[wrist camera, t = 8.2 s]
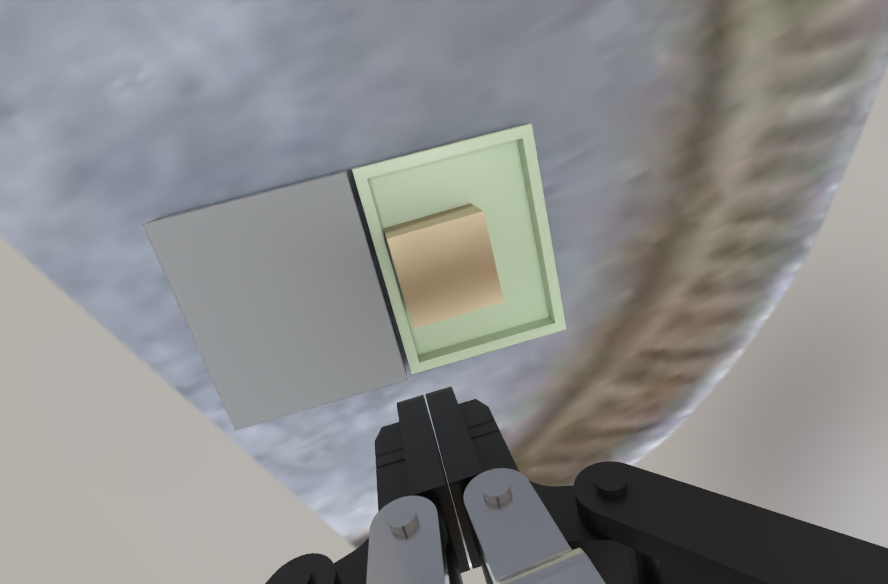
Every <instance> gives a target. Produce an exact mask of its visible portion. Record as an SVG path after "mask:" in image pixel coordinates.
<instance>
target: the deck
mask: <svg viewBox="0 0 888 584" xmlns="http://www.w3.org/2000/svg"><path fill="white" fill-rule="evenodd" d="M143 226H144V228H145V231H146V233H147V235H148V237H149V240H150V242H151V244H152V246H153V249H154V251H155V253H156V255H157V257H158V260H159V262H160V264H161V266H162V269H163V271H164V273H165V275H166V278H167V280H168V282H169V284H170V286H171V289H172V291H173V293H174V295H175V298H176V300H177V302H178V304H179V307H180V309H181V311H182V313H183V316H184V318H185V320H186V322H187V324H188V327H189V329H190V331H191V333H192V336H193V338H194V340H195V342H196V345H197V347H198V349H199V351H200V353H201V356H202V358H203V360H204V362H205V365H206V367H207V369H208V371H209V374H210V376H211V378H212V380H213V382H214V385H215V387H216V389H217V391H218V394H219V396H220V398H221V400H222V403H223V405H224V407H225V409H226V412H227V414H228V416H229V418H230V420H231V423H232V425H233V427H234V429H235V430H239V429H242V428H246V427H249V426H252V425H256V424H259V423H263V422H266V421H269V420H273V419H276V418H280V417H283V416H286V415H290V414H293V413H297V412H300V411H303V410H307V409H310V408H314V407H317V406H320V405H324V404H327V403H331V402H334V401H337V400H341V399H344V398H348V397H351V396H354V395H358V394H361V393H365V392H368V391H372V390H375V389H378V388H382V387H385V386H389V385H392V384H395V383H399V382H402V381H406V380H408V379H407V374H406V368H405V364H404V360H403V357H402V354H401V350H400V347H399V344H398V340H397V337H396V333H395V330H394V327H393V323H392V320H391V317H390V313H389V310H388V306H387V303H386V300H385V296H384V293H383V290H382V286H381V283H380V279H379V276H378V273H377V269H376V266H375V263H374V259H373V256H372V252H371V249H370V246H369V242H368V239H367V236H366V232H365V229H364V225H363V222H362V219H361V215H360V212H359V209H358V205H357V202H356V198H355V195H354V192H353V188H352V185H351V182H350V178H349V175H348V171H347V170H343V171H339V172H335V173H331V174H327V175H324V176H320V177H316V178H312V179H308V180H304V181H300V182H296V183H292V184H289V185H285V186H281V187H277V188H273V189H269V190H265V191H261V192H257V193H254V194H250V195H246V196H242V197H238V198H234V199H230V200H226V201H222V202H219V203H215V204H211V205H207V206H203V207H199V208H195V209H191V210H187V211H184V212H180V213H176V214H172V215H168V216H164V217H160V218H157V219H155V220H152V221H150V222H147V223H145V224H143Z"/></svg>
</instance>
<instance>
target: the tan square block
mask: <svg viewBox="0 0 888 584" xmlns="http://www.w3.org/2000/svg"><path fill="white" fill-rule="evenodd" d="M384 231H385V234H386V238H387V242H388V245H389V248H390V252H391V255H392V258H393V262H394V265H395V268H396V272H397V275H398V278H399V282H400V285H401V288H402V291H403V295H404V298H405V301H406V305H407V308H408V311H409V315H410V318H411V321H412V325H413V328H414V329H416V328H419V327H423V326H426V325H429V324H432V323H436V322H439V321H442V320H446V319H449V318H452V317H456V316H459V315H462V314H465V313H469V312H472V311H475V310H479V309H482V308H485V307H489V306H492V305H495V304H498V303H502V302H504V299H503V295H502V290H501V286H500V282H499V277H498V273H497V269H496V264H495V260H494V256H493V251H492V247H491V242H490V238H489V234H488V229H487V225H486V221H485V216H484V212H483V211H482V210H481V209H479V208H477V207H476V206H474V205H472V204H471V203H470V204H467V205H463V206H460V207H456V208H453V209H449V210H446V211H442V212H439V213H435V214H432V215H428V216H425V217H421V218H418V219H415V220H411V221H408V222H404V223H401V224H397V225H394V226H390V227H387V228H384Z"/></svg>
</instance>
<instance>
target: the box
mask: <svg viewBox="0 0 888 584" xmlns="http://www.w3.org/2000/svg"><path fill="white" fill-rule="evenodd" d="M352 172H353V175H354V179H355V182H356V185H357V189H358V192H359V196H360V199H361V202H362V206H363V209H364V213H365V216H366V220H367V223H368V226H369V230H370V233H371V237H372V240H373V243H374V247H375V250H376V254H377V257H378V260H379V264H380V267H381V271H382V274H383V278H384V281H385V284H386V288H387V291H388V295H389V298H390V301H391V305H392V308H393V312H394V315H395V318H396V322H397V325H398V329H399V332H400V336H401V339H402V342H403V346H404V349H405V353H406V356H407V359H408V363H409V366H410V370H411V373H412V374H415V373H419V372H422V371H425V370H429V369H432V368H436V367H439V366H442V365H446V364H449V363H453V362H456V361H459V360H463V359H466V358H470V357H473V356H477V355H480V354H483V353H487V352H490V351H494V350H497V349H500V348H504V347H507V346H511V345H514V344H517V343H521V342H524V341H528V340H531V339H535V338H538V337H541V336H545V335H548V334H552V333H555V332H558V331H562V330H565V329H566V324H565V318H564V313H563V307H562V301H561V295H560V289H559V283H558V277H557V271H556V265H555V259H554V253H553V247H552V241H551V236H550V230H549V224H548V218H547V212H546V206H545V200H544V194H543V188H542V182H541V176H540V170H539V164H538V159H537V153H536V147H535V141H534V135H533V129H532V124H522V125H518V126H514V127H510V128H506V129H502V130H499V131H495V132H491V133H487V134H483V135H479V136H475V137H471V138H467V139H464V140H460V141H456V142H452V143H448V144H444V145H440V146H436V147H432V148H429V149H425V150H421V151H417V152H413V153H409V154H405V155H401V156H397V157H394V158H390V159H386V160H382V161H378V162H374V163H370V164H366V165H362V166H359V167H355V168H352ZM470 203H471V204H472V205H474V206H476V207H477V208H479V209H481V210H482V211H483V212H484V216H485V221H486V225H487V229H488V234H489V238H490V242H491V247H492V251H493V256H494V260H495V264H496V269H497V273H498V277H499V282H500V286H501V290H502V295H503V299H504V302H502V303H498V304H495V305H492V306H489V307H485V308H482V309H479V310H475V311H472V312H469V313H465V314H462V315H459V316H456V317H452V318H449V319H446V320H442V321H439V322H436V323H432V324H429V325H426V326H423V327H419V328H416V329H414V328H413V325H412V321H411V318H410V315H409V311H408V308H407V305H406V301H405V298H404V295H403V291H402V288H401V285H400V282H399V278H398V275H397V272H396V268H395V265H394V262H393V258H392V255H391V252H390V248H389V245H388V242H387V238H386V234H385V231H384V228H387V227H390V226H394V225H397V224H401V223H404V222H408V221H411V220H415V219H418V218H421V217H425V216H428V215H432V214H435V213H439V212H442V211H446V210H449V209H453V208H456V207H460V206H463V205H467V204H470Z"/></svg>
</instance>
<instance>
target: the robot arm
mask: <svg viewBox="0 0 888 584" xmlns="http://www.w3.org/2000/svg"><path fill="white" fill-rule="evenodd" d="M426 398H427V402H428V406H429V410H430V414H431V418H432V422H433V426H434V429H435V433H436V437H437V441H438V445H439V448H438V445H437V441H436V438H435V434H434V431H433V427H432V424H431V420H430V417H429V413H428V410H427V406H426V403H425V399H424V396H423V395H421V396H418V397H415V398H411V399H408V400H405V401H401V402H398V403H397V409H398V416H399V422H398V423H394V424H391V425H388V426H384V427H382V428H381V430H380V432H379V434H378V436H377V438H376V440H375V455H376V468H377V470H376V473H377V491H378V509H379V512H378V513H377V514H376V516H375V517H374V519H373V521H372V523H371V526H370V533H369V538H368V539H367V540H366V541H365V542H364V543H363V544H362V545H361V546H360V547H359V548H357V549H356V550H354V551H353V552H352V553H350V554H348V555H347V556H345V557H344V558H342V559H340V560H339V561H337V562H335V563H334V564H333V562H332V561H331V559H329V558H328V557H327V556H324V555H322V554H314V553H312V554H306V555H302V556H299V557H297V558H295V559H293V560H291V561H289V562H288V563H286V564H285V565H283V566H282V567H281V568H280V569H278V570H277V571H276V572H275V573H274V574H273V575H272V577H271V578H270V579H269V580H268V581H267V582H266V584H463V582H462V577H461V573H462V572H465V571H468V570H470V568H469V564H468V560H467V556H466V552H465V548H464V545H463V541H462V537H461V533H460V529H459V525H458V521H457V517H456V513H455V510H454V506H453V502H452V498H451V494H452V497H453V501H454V504H455V508H456V511H457V515H458V518H459V522H460V525H461V529H462V532H463V536H464V539H465V543H466V546H467V550H468V553H469V557H470V560H471V564H472V567H473V569H474V568H477V567H480V566H482V569H483V573H484V576H485V579H486V582H487V584H888V548H885V547H882V546H879V545H875V544H872V543H869V542H866V541H863V540H860V539H857V538H854V537H851V536H848V535H845V534H841V533H838V532H835V531H832V530H829V529H826V528H823V527H820V526H816V525H814V524H810V523H807V522H804V521H801V520H798V519H795V518H792V517H789V516H786V515H782V514H779V513H776V512H773V511H770V510H767V509H764V508H761V507H758V506H755V505H752V504H749V503H746V502H742V501H739V500H736V499H733V498H730V497H727V496H724V495H721V494H717V493H714V492H711V491H708V490H705V489H702V488H699V487H696V486H693V485H690V484H687V483H684V482H680V481H677V480H674V479H671V478H668V477H665V476H662V475H659V474H656V473H652V472H649V471H646V470H643V469H640V468H637V467H634V466H631V465H628V464H624V463H620V462H600V463H595V464H593V465H590V466H588V467H586V468H585V469H583V470H582V471H581V472H580V473H579V474H578V476H577V477H576V479H575V482H574V486H558V487H553V486H543V485H539V484H536V483H533V482H531V481H529V480H528V479H527V477H526V476H524V475H523V474H522V473H520V472H519V470H518V468H517V466H516V464H515V462H514V460H513V458H512V456H511V454H510V451H509V449H508V447H507V445H506V443H505V441H504V439H503V437H502V435H501V433H500V431H499V428H498V426H497V424H496V422H495V420H494V418H493V416H492V414H491V411H490V409H489V407H487V406H486V405H484V404H483V403H481V402H480V401H478V400H477V399H474V400H471V401H467V402H464V403H461V404H458V403H457V400H456V397H455V395H454V392H453V389H452V387H448V388H445V389H441V390H438V391H435V392H431V393H428V394H426ZM439 449H440V452H439ZM440 453H441V455H440ZM441 456H442V459H441ZM442 460H443V463H442ZM443 464H444V467H443ZM444 468H445V471H444ZM445 472H446V474H445ZM446 476H447V478H446ZM447 480H448V482H447ZM448 484H449V486H448ZM449 487H450V490H449ZM450 491H451V494H450Z"/></svg>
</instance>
